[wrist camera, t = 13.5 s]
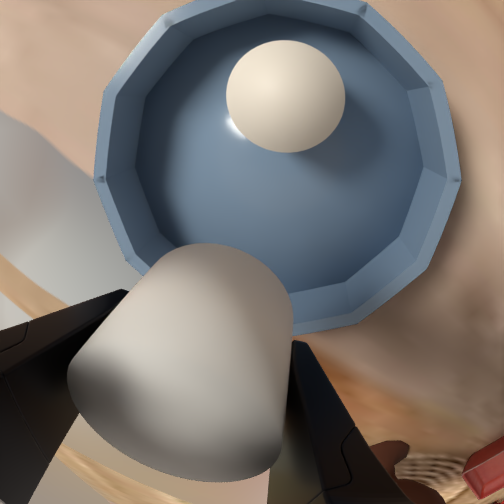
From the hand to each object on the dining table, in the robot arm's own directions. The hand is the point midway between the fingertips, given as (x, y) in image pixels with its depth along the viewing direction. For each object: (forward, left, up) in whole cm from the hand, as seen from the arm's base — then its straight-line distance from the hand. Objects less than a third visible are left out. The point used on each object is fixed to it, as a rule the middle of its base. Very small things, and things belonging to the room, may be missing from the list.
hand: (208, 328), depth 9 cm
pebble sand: (0, -7, -11) cm, 13 cm away
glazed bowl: (0, -3, -11) cm, 12 cm away
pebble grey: (0, 0, -1) cm, 1 cm away
